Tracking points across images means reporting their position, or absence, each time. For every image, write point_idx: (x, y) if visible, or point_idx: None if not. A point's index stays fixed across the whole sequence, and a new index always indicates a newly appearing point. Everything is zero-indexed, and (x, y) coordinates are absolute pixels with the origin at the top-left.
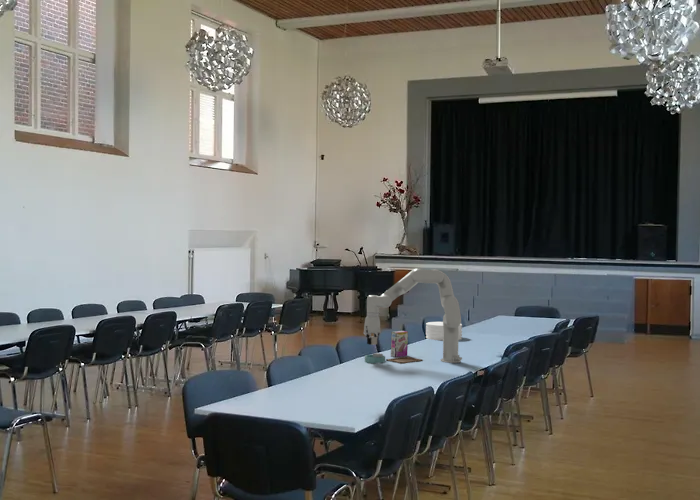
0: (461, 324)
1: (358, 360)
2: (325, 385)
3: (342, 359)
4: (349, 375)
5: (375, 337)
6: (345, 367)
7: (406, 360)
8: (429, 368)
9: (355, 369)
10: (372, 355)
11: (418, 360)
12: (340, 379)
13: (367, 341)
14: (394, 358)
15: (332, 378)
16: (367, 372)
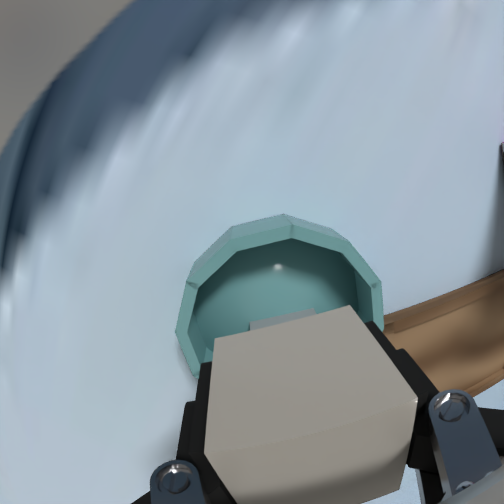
0: None
1: (162, 188)
2: (4, 501)
3: (61, 94)
4: (42, 490)
5: (351, 500)
6: (21, 396)
7: (473, 348)
8: (388, 498)
9: (63, 451)
10: (309, 240)
11: (490, 385)
12: (24, 497)
13: (186, 421)
14: (451, 307)
15: (4, 480)
16: (105, 499)
